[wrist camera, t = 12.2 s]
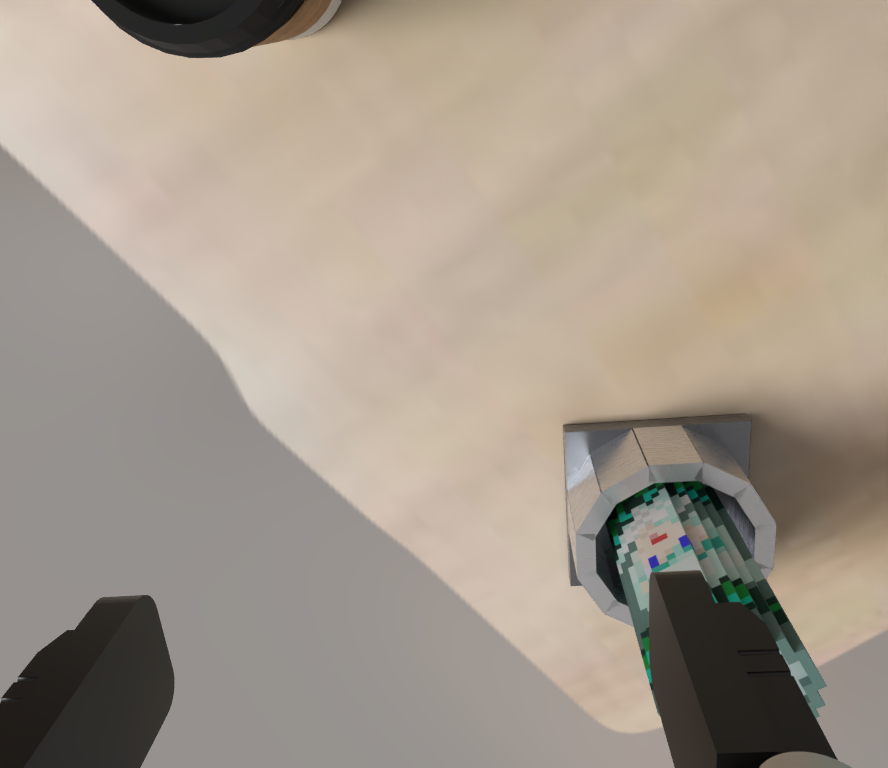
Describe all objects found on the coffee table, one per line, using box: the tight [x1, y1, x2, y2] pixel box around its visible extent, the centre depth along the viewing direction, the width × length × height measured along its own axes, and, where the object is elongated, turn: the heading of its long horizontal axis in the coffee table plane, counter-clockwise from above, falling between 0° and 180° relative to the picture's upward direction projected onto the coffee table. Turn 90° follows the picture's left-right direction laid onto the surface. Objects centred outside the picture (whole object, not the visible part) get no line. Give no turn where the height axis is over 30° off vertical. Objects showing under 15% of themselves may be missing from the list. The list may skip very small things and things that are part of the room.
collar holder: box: [563, 414, 776, 627], centre depth 42 cm, size 10×10×6 cm
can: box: [605, 481, 827, 718], centre depth 37 cm, size 6×6×15 cm
